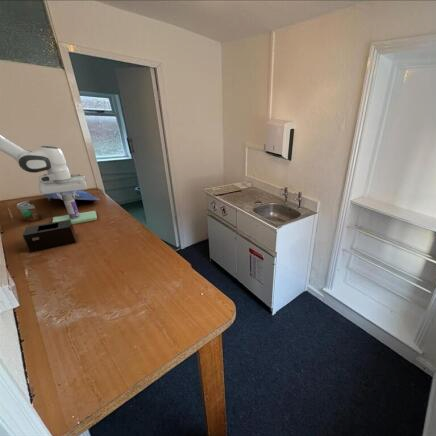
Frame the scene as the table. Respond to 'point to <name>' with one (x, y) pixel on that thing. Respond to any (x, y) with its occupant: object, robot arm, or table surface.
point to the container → (70, 205)
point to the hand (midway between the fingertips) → (68, 198)
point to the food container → (28, 211)
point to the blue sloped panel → (78, 195)
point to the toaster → (49, 235)
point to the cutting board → (83, 217)
